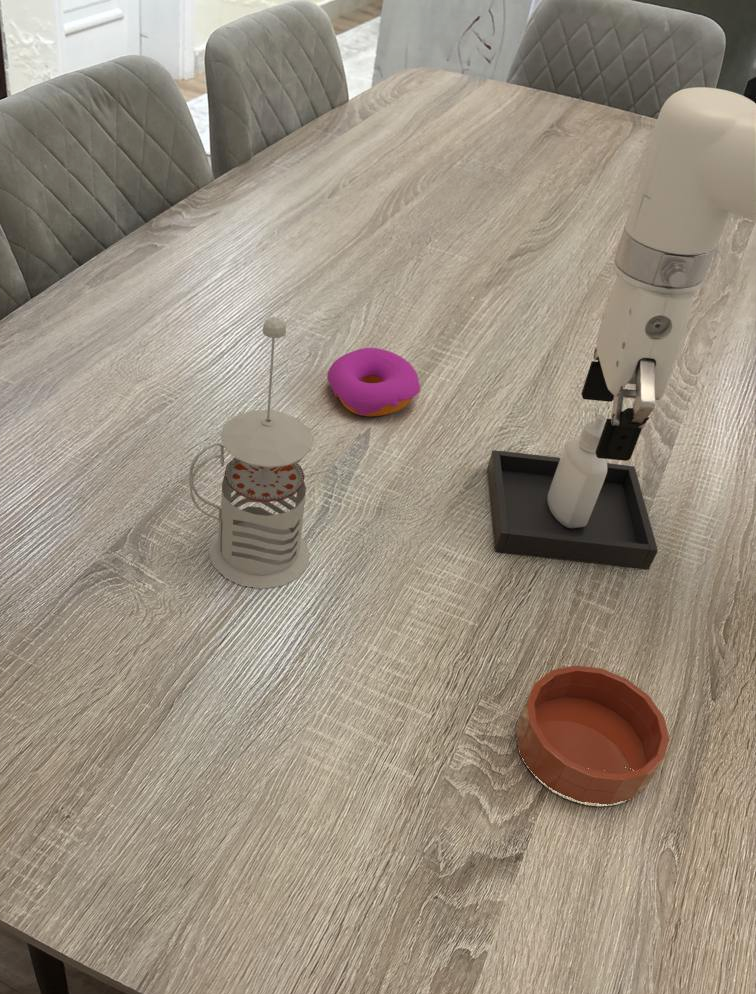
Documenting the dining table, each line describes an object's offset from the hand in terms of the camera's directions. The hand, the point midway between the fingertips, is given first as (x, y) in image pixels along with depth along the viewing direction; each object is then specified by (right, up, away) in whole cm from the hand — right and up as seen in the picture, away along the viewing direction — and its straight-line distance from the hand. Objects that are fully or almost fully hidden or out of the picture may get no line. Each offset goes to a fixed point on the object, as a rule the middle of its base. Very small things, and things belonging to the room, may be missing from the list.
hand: (604, 427), depth 90 cm
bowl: (-6, -29, -13) cm, 32 cm away
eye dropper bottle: (-1, -8, +8) cm, 11 cm away
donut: (-21, +7, +21) cm, 31 cm away
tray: (-1, -8, +8) cm, 12 cm away
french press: (-34, -12, +1) cm, 36 cm away
